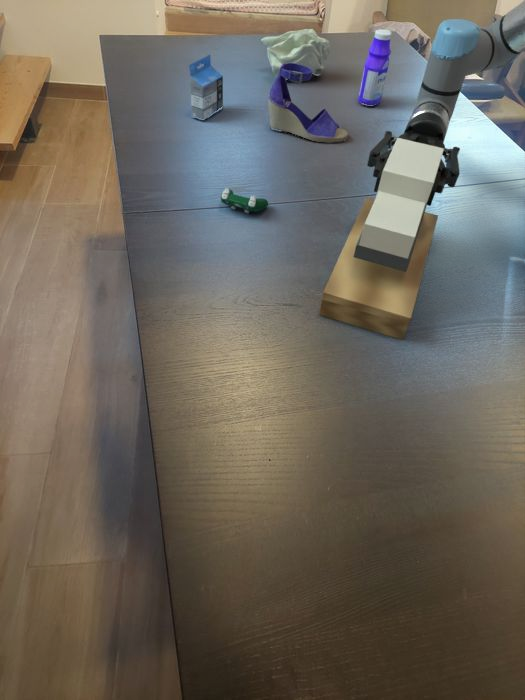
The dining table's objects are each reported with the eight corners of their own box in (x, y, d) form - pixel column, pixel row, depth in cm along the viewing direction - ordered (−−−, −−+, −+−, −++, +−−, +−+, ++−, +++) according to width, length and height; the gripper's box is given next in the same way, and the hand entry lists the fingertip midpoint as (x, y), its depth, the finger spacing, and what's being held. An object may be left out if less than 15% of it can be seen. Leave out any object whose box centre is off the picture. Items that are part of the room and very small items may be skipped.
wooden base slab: (430, 236, 100) (438, 215, 96) (402, 340, 81) (411, 318, 77) (361, 218, 103) (366, 196, 99) (318, 314, 84) (323, 292, 80)
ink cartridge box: (204, 122, 126) (202, 69, 117) (191, 118, 127) (188, 65, 118) (223, 109, 132) (223, 57, 122) (210, 105, 133) (209, 54, 123)
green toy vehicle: (223, 208, 105) (214, 200, 100) (228, 190, 105) (219, 181, 99) (264, 219, 104) (257, 212, 98) (270, 201, 103) (263, 193, 97)
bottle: (372, 110, 137) (388, 38, 123) (353, 104, 138) (367, 32, 125) (383, 101, 141) (400, 30, 128) (365, 95, 143) (379, 25, 130)
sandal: (342, 149, 121) (354, 83, 110) (263, 132, 125) (267, 66, 113) (349, 134, 127) (361, 70, 115) (273, 118, 130) (278, 54, 119)
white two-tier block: (427, 200, 93) (445, 148, 85) (406, 272, 79) (425, 217, 72) (382, 189, 95) (395, 137, 87) (353, 257, 81) (366, 202, 73)
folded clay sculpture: (277, 104, 151) (258, 57, 138) (278, 75, 157) (259, 28, 144) (337, 85, 145) (322, 34, 132) (335, 56, 150) (321, 4, 138)
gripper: (473, 163, 98) (460, 227, 83) (367, 138, 102) (338, 195, 87) (489, 124, 92) (478, 186, 78) (376, 100, 96) (346, 154, 82)
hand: (404, 191), depth 82 cm, fingers closed on white two-tier block, 8 cm apart
